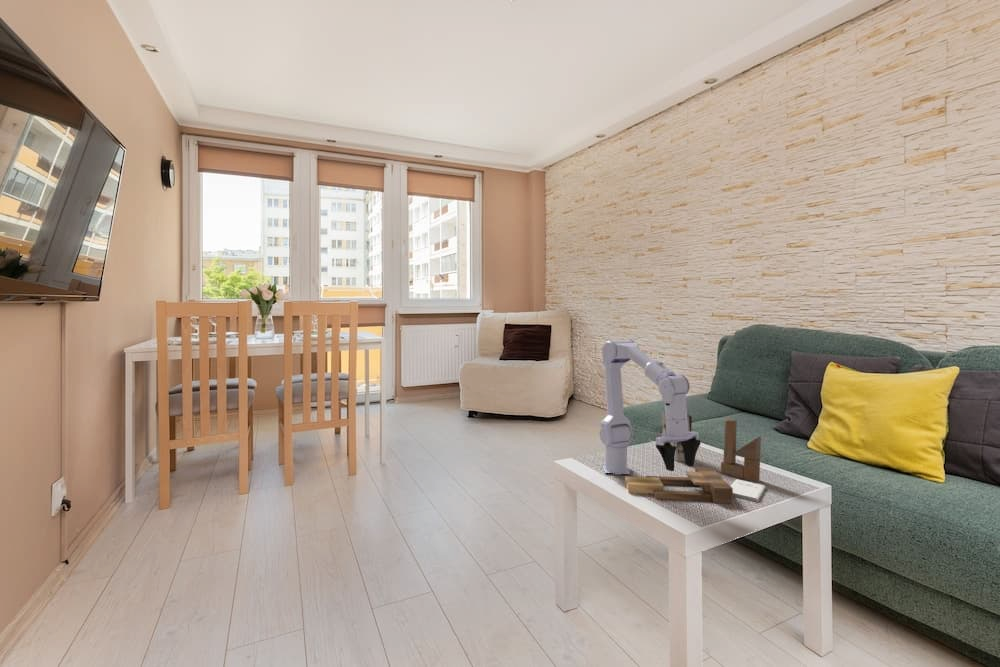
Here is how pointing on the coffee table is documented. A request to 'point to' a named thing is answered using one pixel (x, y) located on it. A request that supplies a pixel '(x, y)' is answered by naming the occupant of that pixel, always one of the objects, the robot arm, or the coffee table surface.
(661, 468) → the coffee table surface
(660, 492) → the walnut dock
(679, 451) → the coffee box
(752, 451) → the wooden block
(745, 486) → the external hard drive
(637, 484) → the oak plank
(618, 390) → the robot arm
